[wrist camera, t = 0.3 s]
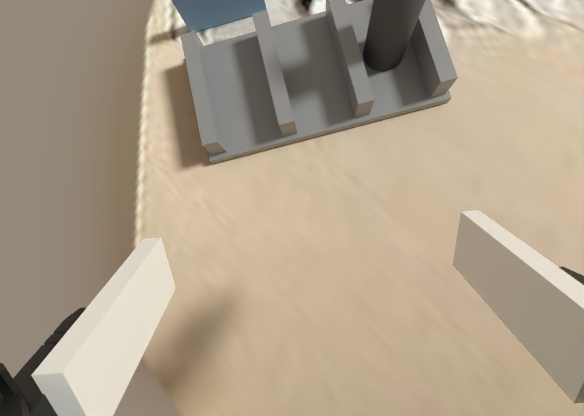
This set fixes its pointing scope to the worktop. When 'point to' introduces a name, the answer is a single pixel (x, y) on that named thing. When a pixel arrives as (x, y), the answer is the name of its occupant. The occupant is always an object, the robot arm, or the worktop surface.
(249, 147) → the grey slotted rack
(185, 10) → the blue rectangular block
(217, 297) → the worktop surface
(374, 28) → the grey banded cylinder
